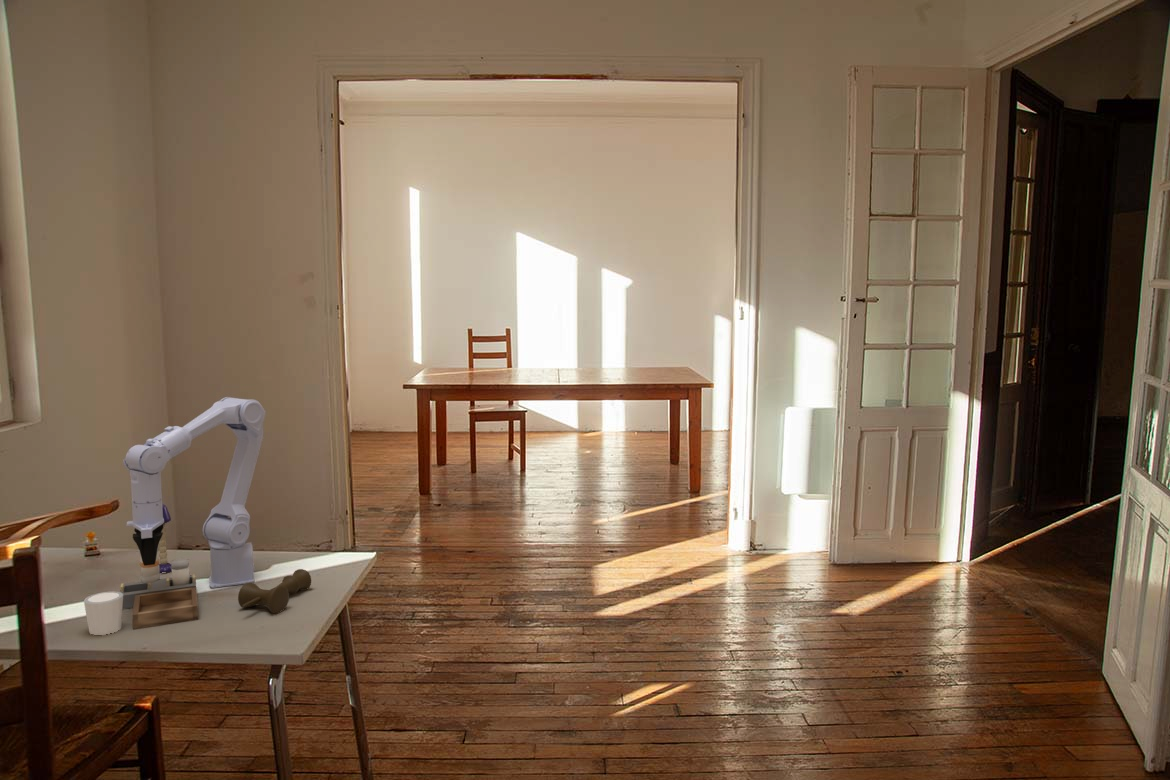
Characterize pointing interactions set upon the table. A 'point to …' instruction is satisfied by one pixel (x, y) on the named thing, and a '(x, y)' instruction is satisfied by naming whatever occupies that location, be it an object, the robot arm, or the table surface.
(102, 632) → the white tapered cup
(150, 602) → the tray
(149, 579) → the marked fuse
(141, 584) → the fuse holder
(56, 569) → the table surface
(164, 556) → the toy lamp
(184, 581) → the plain fuse
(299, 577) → the kendama
